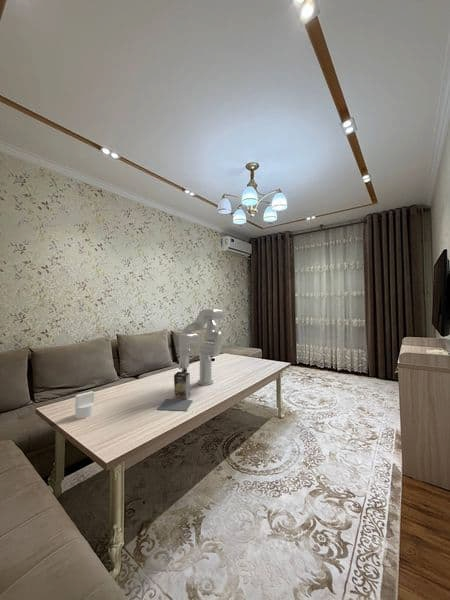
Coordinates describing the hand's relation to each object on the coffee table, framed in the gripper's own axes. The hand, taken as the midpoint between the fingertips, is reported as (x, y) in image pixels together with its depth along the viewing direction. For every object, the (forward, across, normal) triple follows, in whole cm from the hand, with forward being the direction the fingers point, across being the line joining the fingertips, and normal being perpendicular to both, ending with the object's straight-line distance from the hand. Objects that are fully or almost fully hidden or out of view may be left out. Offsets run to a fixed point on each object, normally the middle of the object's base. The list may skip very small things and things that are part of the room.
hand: (184, 378), depth 171 cm
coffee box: (+11, +4, 0) cm, 12 cm away
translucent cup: (+12, +36, -48) cm, 61 cm away
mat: (+12, +17, -1) cm, 21 cm away
